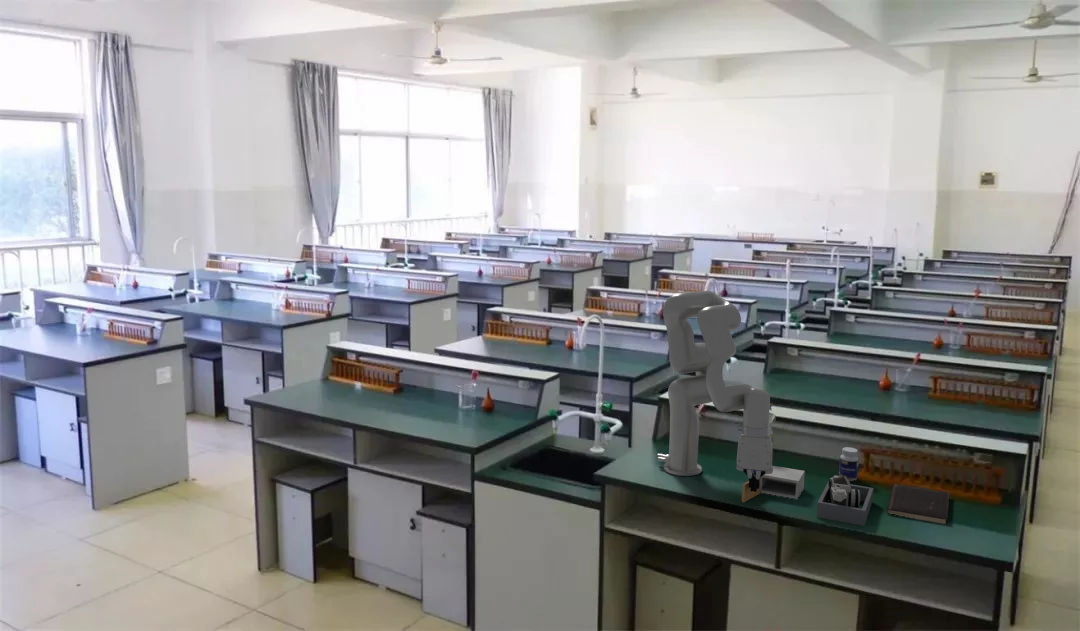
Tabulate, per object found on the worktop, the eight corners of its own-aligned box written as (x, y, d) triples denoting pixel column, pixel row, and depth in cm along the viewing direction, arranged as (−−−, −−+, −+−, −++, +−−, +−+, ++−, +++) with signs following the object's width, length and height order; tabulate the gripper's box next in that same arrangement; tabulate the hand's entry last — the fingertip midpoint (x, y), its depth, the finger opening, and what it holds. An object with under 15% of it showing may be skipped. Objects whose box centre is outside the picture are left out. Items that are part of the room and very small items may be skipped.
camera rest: (816, 517, 245) (817, 502, 244) (827, 494, 262) (828, 480, 261) (864, 525, 239) (865, 510, 238) (872, 502, 256) (873, 488, 255)
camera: (861, 522, 241) (864, 489, 239) (829, 519, 243) (832, 486, 242) (855, 502, 256) (857, 470, 255) (825, 499, 258) (827, 468, 257)
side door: (758, 491, 263) (759, 474, 262) (761, 492, 262) (762, 475, 261) (741, 501, 255) (742, 484, 254) (744, 502, 254) (745, 484, 253)
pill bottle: (838, 480, 275) (840, 450, 273) (839, 474, 280) (841, 445, 278) (856, 482, 273) (859, 453, 271) (857, 476, 278) (859, 447, 276)
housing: (758, 492, 263) (759, 474, 262) (765, 482, 272) (766, 464, 271) (797, 499, 258) (798, 480, 257) (803, 489, 266) (804, 470, 265)
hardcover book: (948, 499, 261) (949, 492, 260) (946, 526, 240) (947, 518, 240) (892, 490, 268) (893, 483, 267) (886, 515, 247) (887, 508, 247)
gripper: (728, 431, 251) (726, 491, 254) (779, 437, 245) (777, 497, 248) (732, 425, 258) (731, 483, 260) (783, 430, 252) (781, 489, 255)
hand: (753, 490), depth 254 cm, fingers closed
